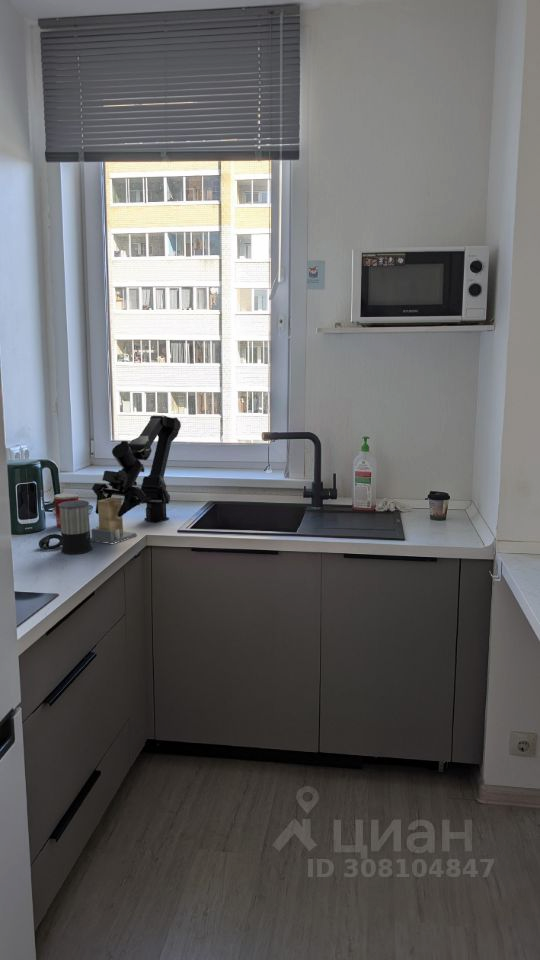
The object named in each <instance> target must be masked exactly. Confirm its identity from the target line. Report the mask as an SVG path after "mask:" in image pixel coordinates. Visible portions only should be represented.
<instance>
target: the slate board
mask: <svg viewBox="0 0 540 960" xmlns="http://www.w3.org/2000/svg"><path fill="white" fill-rule="evenodd" d="M114 535H115V538H114V536H113V531H109V530H102V529H99V526H95V527H94V528H91V537H90V538H91V542H93V541H99V542H98V543H100V542H108V543H115V542H118V541H121V540H124V539H127V538H130V539H132V538H131V537H133V538H135V537H137V533H136V532H132V531H124V530H123V535H121V536H120V532H119V529H115V530H114ZM134 536H135V537H134ZM127 540H128V539H127ZM124 541H125V540H124ZM121 542H122V541H121Z"/></svg>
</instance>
